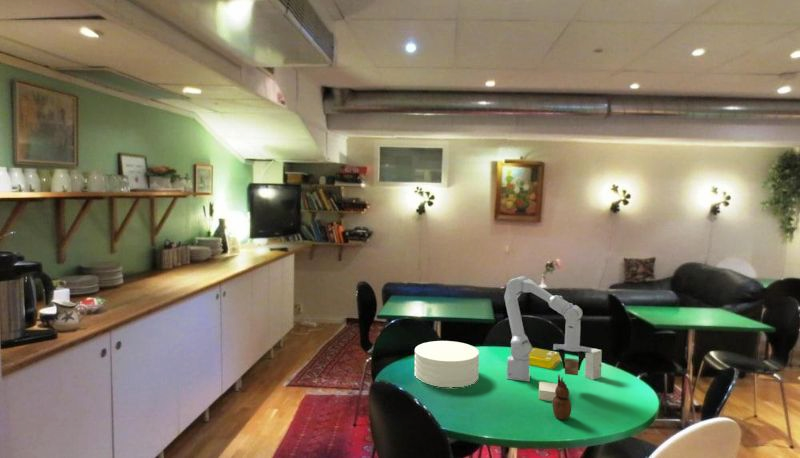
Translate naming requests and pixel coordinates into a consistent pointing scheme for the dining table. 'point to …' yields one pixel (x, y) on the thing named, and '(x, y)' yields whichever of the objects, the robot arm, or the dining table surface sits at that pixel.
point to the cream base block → (547, 391)
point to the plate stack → (447, 363)
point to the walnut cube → (571, 366)
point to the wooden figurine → (561, 401)
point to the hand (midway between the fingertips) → (571, 368)
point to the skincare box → (593, 364)
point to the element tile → (544, 358)
